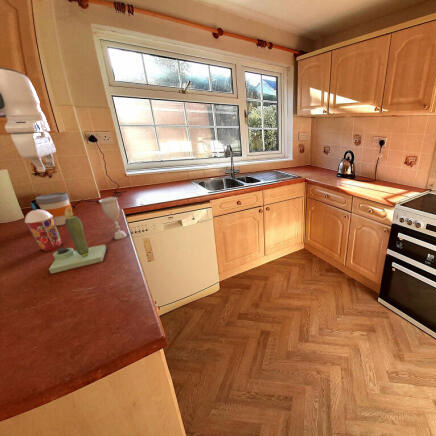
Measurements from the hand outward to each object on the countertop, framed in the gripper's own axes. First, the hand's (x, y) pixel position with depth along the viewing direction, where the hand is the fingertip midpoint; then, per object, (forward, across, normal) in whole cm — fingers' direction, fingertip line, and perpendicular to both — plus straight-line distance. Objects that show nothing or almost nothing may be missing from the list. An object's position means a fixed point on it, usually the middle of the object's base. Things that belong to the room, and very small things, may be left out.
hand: (47, 169), depth 83 cm
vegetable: (+33, +5, +3) cm, 33 cm away
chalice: (+35, -13, +12) cm, 39 cm away
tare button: (+31, 0, -5) cm, 32 cm away
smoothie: (+35, -17, -13) cm, 41 cm away
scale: (+35, +3, 0) cm, 35 cm away
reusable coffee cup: (+35, -53, -17) cm, 66 cm away
